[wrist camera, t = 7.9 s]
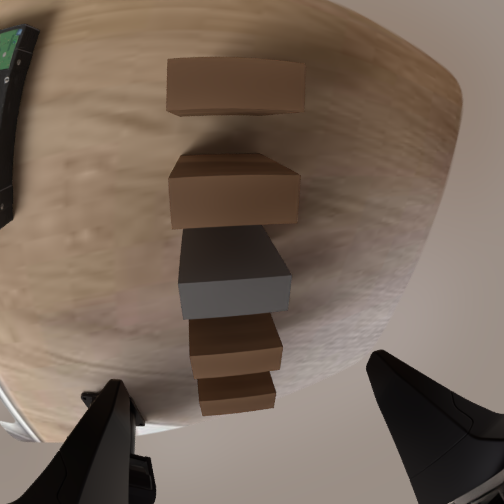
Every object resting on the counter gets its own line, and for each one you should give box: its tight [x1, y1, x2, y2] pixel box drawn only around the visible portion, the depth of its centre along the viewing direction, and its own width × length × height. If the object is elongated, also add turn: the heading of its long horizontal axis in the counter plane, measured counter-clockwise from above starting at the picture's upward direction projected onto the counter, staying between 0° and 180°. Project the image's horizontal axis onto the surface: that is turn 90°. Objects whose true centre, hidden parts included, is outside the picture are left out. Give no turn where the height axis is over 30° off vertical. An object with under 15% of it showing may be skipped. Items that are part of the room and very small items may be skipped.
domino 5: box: [197, 371, 276, 416], centre depth 20 cm, size 2×5×8 cm, turn 89°
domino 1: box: [166, 57, 306, 117], centre depth 12 cm, size 2×5×8 cm, turn 89°
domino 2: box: [168, 154, 301, 229], centre depth 14 cm, size 2×5×8 cm, turn 89°
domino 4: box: [189, 313, 283, 379], centre depth 18 cm, size 2×5×8 cm, turn 89°
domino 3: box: [178, 225, 292, 320], centre depth 16 cm, size 2×5×8 cm, turn 89°
